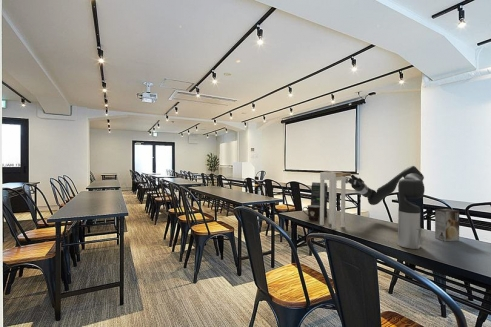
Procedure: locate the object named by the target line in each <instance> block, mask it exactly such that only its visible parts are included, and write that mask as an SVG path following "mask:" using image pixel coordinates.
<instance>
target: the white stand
mask: <svg viewBox="0 0 491 327" xmlns="http://www.w3.org/2000/svg"><path fill="white" fill-rule="evenodd" d="M324 172H325V171H323V172H319V173H320V174H319V180H320V182H319V183H320V217H319V225H320V226H324V225H325V218H324V183H325V181H328V224H329V225H331V230H337V189H338V188H337V187H338V186H337V182H338V181H340V182H341V183H340V184H341V185H340V187H341V188H340V228H342V227H345V228H346V184H347V183H346V179H347V178H346V177H347V176H346V177H336V173H324Z"/></svg>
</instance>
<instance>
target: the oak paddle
mask: <svg viewBox="0 0 491 327" xmlns="http://www.w3.org/2000/svg"><path fill="white" fill-rule="evenodd" d="M323 172H324V173H336V177H342V176H346V177H351V175H352V174H351V172H342V171H332V170H331V171H323Z"/></svg>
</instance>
